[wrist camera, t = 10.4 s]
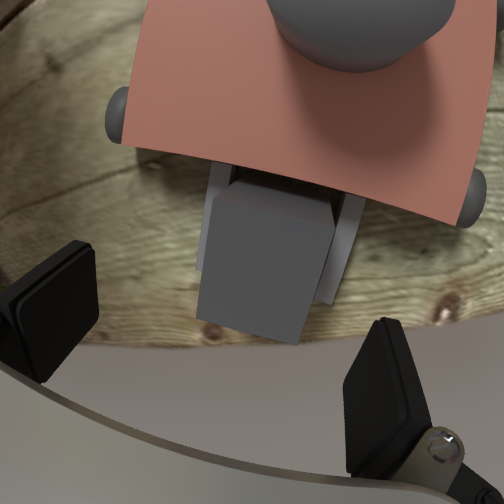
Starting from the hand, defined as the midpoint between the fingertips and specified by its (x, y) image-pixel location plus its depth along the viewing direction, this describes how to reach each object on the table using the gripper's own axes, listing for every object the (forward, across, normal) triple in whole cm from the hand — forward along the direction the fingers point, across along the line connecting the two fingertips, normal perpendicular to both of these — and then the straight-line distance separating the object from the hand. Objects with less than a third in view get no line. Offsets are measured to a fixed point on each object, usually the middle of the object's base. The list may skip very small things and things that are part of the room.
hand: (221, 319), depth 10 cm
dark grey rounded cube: (+11, -1, +1) cm, 11 cm away
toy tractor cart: (+11, -1, -8) cm, 14 cm away
